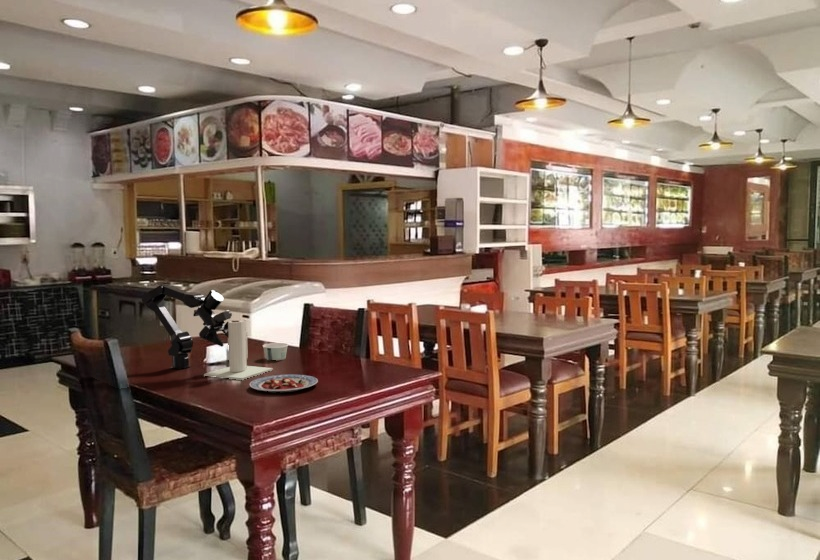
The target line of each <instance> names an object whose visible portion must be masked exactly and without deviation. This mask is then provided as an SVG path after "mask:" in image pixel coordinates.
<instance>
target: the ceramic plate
mask: <svg viewBox="0 0 820 560" xmlns="http://www.w3.org/2000/svg"><path fill="white" fill-rule="evenodd" d="M317 383H319V380H318V378H316V377H315V376H311V375H307V374H293V373H292V374H277V375H276V374H275V375H268V376H263V377H259V378H256V379H253V380H252V381H250V382H249V387H250V388H252V389H254V390H257V391H263V392H267V391H268V393H276V392H280V393H292V392H296V391H302V390H303V389H306V388H310V387H312V386H315V385H316V384H317Z"/></svg>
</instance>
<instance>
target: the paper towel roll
mask: <svg viewBox="0 0 820 560" xmlns="http://www.w3.org/2000/svg"><path fill="white" fill-rule="evenodd" d="M228 321H229V322H228ZM228 321H227V322H228V333H229V362H228V363H229V367H230V372H241V371H244V370H245V369H247V366H248V362H247V360H248V359H247V354H246V332H247V327H246V326H247V325H246V323H247V322H246V320H228Z"/></svg>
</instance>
